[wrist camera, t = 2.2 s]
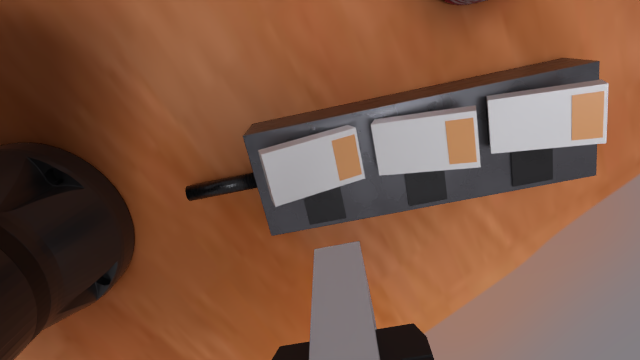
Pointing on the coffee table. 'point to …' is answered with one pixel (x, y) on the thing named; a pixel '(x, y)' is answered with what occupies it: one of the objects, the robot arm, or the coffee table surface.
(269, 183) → the block
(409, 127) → the block
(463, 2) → the beverage can
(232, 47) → the coffee table surface
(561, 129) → the block
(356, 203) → the power strip
